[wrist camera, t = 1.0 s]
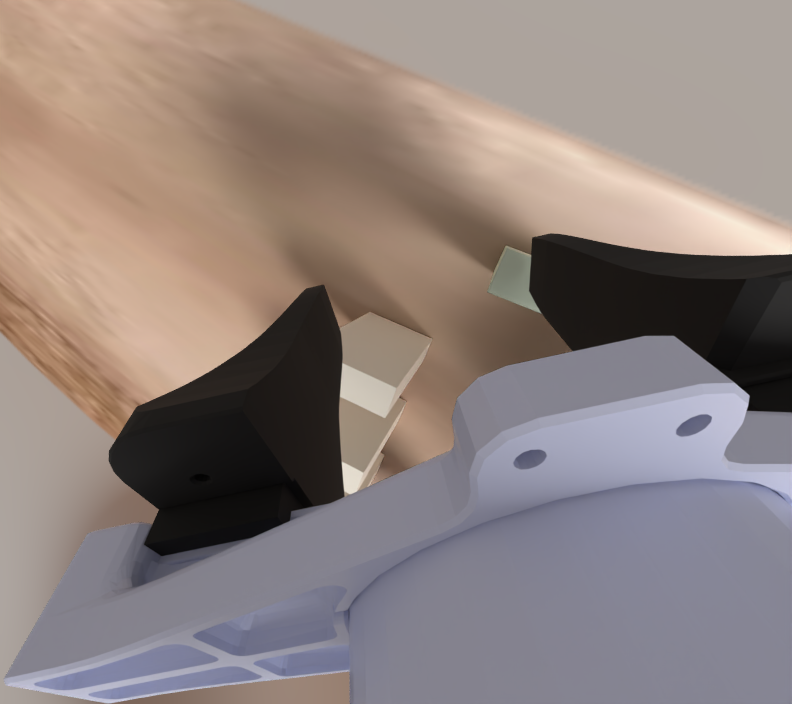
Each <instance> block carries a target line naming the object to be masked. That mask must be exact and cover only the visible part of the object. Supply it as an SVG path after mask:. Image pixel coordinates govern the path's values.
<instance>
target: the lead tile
mask: <svg viewBox="0 0 792 704" xmlns="http://www.w3.org/2000/svg"><path fill="white" fill-rule="evenodd" d="M530 266H531V254H528V253H525V252H523V251H520V250H517V249H514V248H512V247H509V246H505V248H504V250H503V252H502V255H501V257H500V259H499V261H498V264H497V266H496V268H495V270H494V272H493V275H492V279H491V282H490V285H489V288H488V291H487V292H488V293H491V294H493V295H496V296H498V297H501V298H503V299H506V300H508V301H511V302H513V303H516V304H518V305H521V306H523V307H526V308H528V309H531V310H533V311H536V312H538V313H541V312H540V310H539V308H538V307H537V305H536V303H535V302H534V300H533V298H532V296H531V294H530V292H529V282H530ZM541 314H542V313H541Z"/></svg>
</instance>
